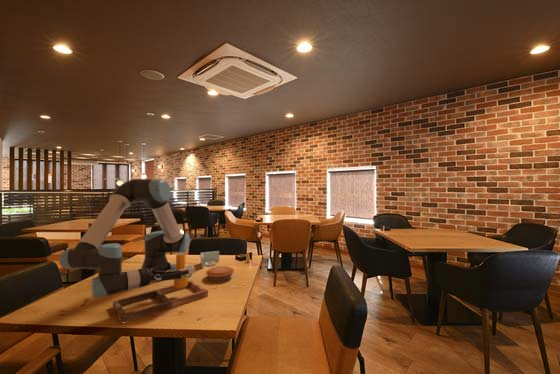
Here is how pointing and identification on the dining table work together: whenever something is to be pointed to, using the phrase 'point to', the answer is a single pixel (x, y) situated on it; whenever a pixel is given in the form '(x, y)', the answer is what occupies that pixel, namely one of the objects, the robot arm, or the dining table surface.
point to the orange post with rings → (179, 266)
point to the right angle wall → (209, 258)
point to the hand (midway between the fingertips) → (189, 267)
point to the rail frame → (160, 295)
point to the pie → (220, 273)
